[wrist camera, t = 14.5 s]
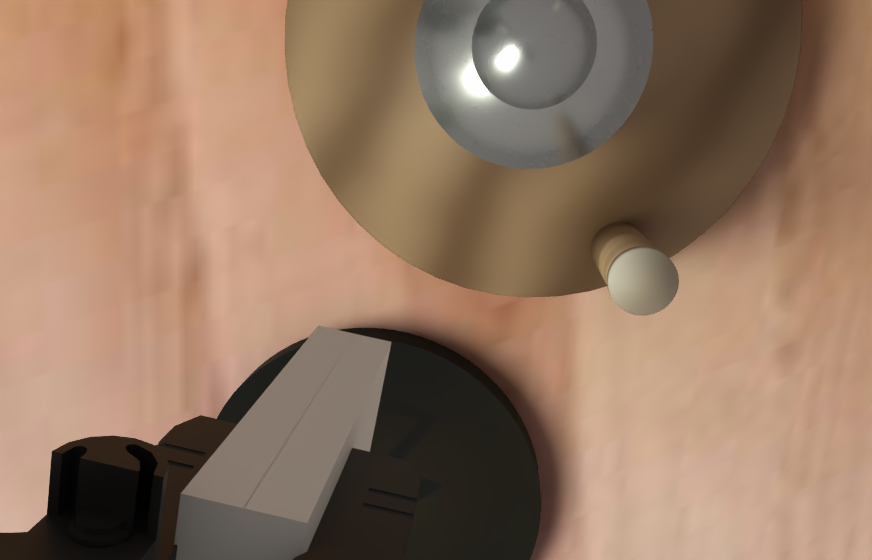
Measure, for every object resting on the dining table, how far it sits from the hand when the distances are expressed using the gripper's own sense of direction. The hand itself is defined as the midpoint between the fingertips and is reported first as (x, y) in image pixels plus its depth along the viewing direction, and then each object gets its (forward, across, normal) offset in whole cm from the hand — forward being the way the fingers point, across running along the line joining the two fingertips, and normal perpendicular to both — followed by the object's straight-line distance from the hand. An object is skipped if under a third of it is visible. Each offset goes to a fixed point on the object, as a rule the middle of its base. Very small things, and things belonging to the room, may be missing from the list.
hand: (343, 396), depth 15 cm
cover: (+20, +2, +8) cm, 22 cm away
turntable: (+22, +3, +9) cm, 24 cm away
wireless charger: (+23, -1, -15) cm, 27 cm away
